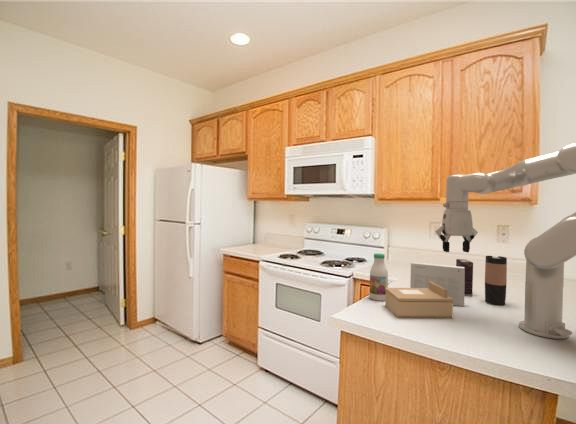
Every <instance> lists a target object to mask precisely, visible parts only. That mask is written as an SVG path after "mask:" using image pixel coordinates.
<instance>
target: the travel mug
mask: <svg viewBox="0 0 576 424" xmlns="http://www.w3.org/2000/svg"><path fill="white" fill-rule="evenodd" d="M507 265H508V258H507V257H505V256H500V255H499V256H497V257H496V256H493V255H485V267H484V268H485V269H484V301H485V303H486V304H489V305H492V306H498V307H501V306H503V307H504V306H505V305H506V299H507V298H506V297H507V273H508V272H507V270H508V267H507Z"/></svg>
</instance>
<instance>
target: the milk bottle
mask: <svg viewBox="0 0 576 424" xmlns="http://www.w3.org/2000/svg"><path fill="white" fill-rule="evenodd" d="M385 257H386V256H385V253H374V254H373V259H374V260H373V263H372V266H371V268H370V271H369V298H370V299H371V300H373V301H378V302H384V301H385V302H386V290H385V288H389V277H388V276H389V274H388V269H387V266H386V264H385Z"/></svg>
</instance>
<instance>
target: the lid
mask: <svg viewBox="0 0 576 424" xmlns="http://www.w3.org/2000/svg"><path fill="white" fill-rule="evenodd" d="M385 290H386V291H387V292H388V293H389V294H390V295H392V296H393V297H394V298H395V299H397V300H398V301H447V302H454V299H453V298H451V297H449V296H447V295H448V290H447V289H445V288H443V287H441V286H439V285H437V284H435V283H433V282H429V286H428V288H410V287H388V288H385Z"/></svg>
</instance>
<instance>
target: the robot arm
mask: <svg viewBox="0 0 576 424" xmlns="http://www.w3.org/2000/svg"><path fill="white" fill-rule="evenodd" d="M575 174H576V142H573V143H570V144H567V145H565V146H564V147H562V148H561V149H559V150H556V151H552V152H548V153H545V154H541V155H537V156H533V157H530V158H525V159H523V160H520V161H518V162H516V164H514V165H512V166H510V167H507V168H504V169H500V170H497V171H493V172H490V173H485V172H473V173H469V174H451V175H449V176H446V177H447V178H446V185H445V186H446V192H445V194H446V195H445V197H446V198H445V202H444V203H443V205H442V206H443V208H445V209H444V211H443V215H442V220H441V226H440V227H438V229H436V230H435V231H434V232H435V234H436V235H437V236H438V238H439V240H441V242H442V250H443V251H442V252H446V253H450V242H449V240H450V238H451V236H453V237H454V236H456V237H462V239H463V241H462V252H464V253H469V252H470V249H471V246H470V245H471V243H472V240H474V238H475V237H476V236H477V234H478V233H479V232H478V231H477V230H476V229H475V228H474V227H473V225H474V223H473V215H472V212H471V210H469V193H474V194H475V193H476V194H482V195H486V194H487V195H488V194H491V193H494V192H500V191H504V190H508V189H513V188H516V187H517V188H518V187H523V186H527V185H531V184H535V183H539V182H544V181H547V180H552V179H558V178H563V177H567V176H571V175H575ZM523 255H524V258H525V261H526V262H525V281H524V283H525V285H524V292H525V293H524V320H521V321H519V322H518V327H519V328H520V330H522V331H525V332H527V333H529V334H531V335H535V336H537V337H543V338H547V339H556V340H564V339H568V338H569V336H571V335H573V332H572V331H571V330H570V329H567V328H566V323H565V322H563V307H564V306H563V305H564V304H563V302H564V284H565V282H564V279H565V277H564V275H565V274H564V271H565V262H568V261H570V260H571V259H572V258H575V257H576V211H575V212H573V213H572V214H570V215H567V216H565V217H563V218H562V219H561V220H560V221H559V222H557V223H555V224H554V225H553V226H551V227H550V228H548V229H547V230H545V231H544V232H542V233H541V234H540V235H538V236H537V237H536V236H535V237H534V238H532V239H530V240H529V241H528V242H527V243H526V245H525V247H524V251H523Z"/></svg>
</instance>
